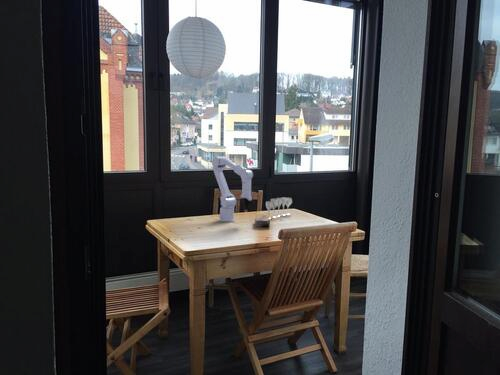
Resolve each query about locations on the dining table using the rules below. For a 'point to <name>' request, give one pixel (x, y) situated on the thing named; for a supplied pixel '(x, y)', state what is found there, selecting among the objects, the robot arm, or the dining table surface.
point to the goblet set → (278, 204)
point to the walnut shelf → (262, 219)
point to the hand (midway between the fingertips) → (246, 209)
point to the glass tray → (261, 223)
